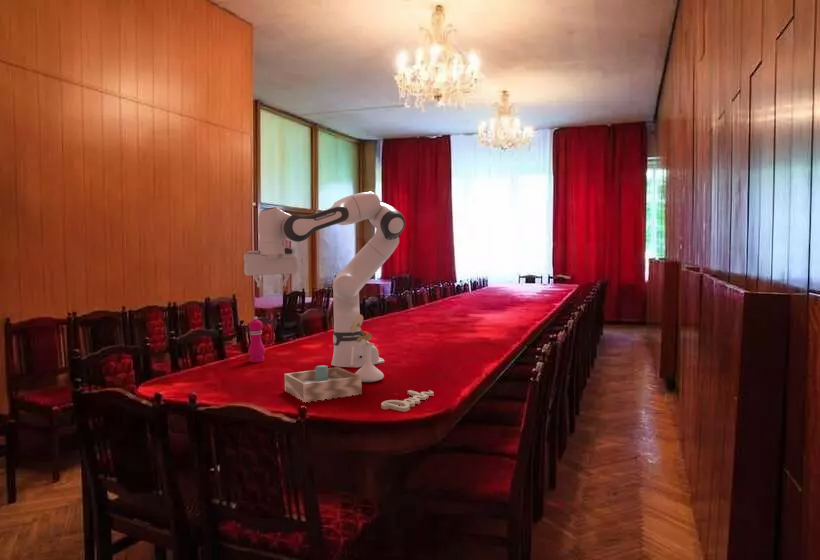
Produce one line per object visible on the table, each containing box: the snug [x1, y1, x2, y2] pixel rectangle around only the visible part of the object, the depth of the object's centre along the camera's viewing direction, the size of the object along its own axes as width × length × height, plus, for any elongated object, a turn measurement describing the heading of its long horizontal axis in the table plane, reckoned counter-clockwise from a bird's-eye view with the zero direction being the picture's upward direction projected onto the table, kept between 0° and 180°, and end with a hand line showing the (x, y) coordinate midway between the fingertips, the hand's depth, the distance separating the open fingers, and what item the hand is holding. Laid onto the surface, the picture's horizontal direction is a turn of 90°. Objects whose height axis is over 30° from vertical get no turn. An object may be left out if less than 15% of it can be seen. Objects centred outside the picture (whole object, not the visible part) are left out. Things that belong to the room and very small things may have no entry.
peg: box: [315, 365, 329, 382], centre depth 209 cm, size 4×4×9 cm
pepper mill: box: [248, 315, 266, 363], centre depth 272 cm, size 7×7×20 cm
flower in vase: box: [349, 313, 385, 383], centre depth 224 cm, size 13×11×25 cm
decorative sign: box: [380, 389, 435, 413], centre depth 194 cm, size 23×2×10 cm
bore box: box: [284, 366, 363, 404], centre depth 209 cm, size 20×20×6 cm
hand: (272, 286), depth 234 cm, fingers open, 8 cm apart
